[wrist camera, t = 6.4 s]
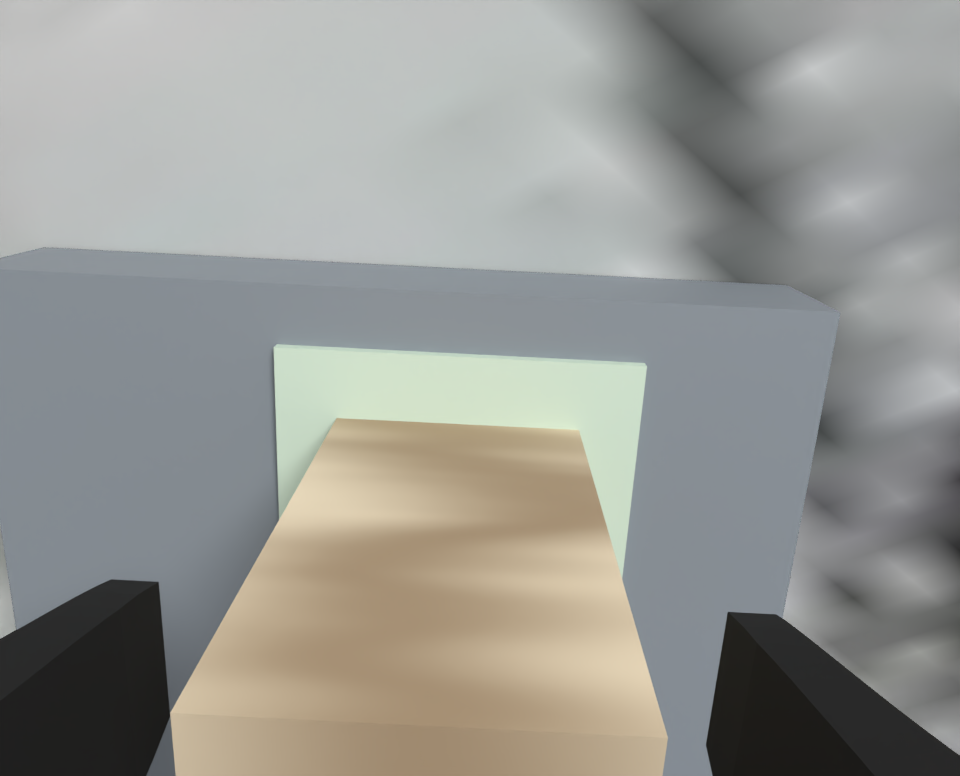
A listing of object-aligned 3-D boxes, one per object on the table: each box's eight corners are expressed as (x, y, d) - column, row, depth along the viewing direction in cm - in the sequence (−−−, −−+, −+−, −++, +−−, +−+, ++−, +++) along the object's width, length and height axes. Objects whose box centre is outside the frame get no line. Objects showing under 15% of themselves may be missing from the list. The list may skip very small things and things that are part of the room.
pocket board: (786, 285, 15) (846, 314, 12) (680, 921, 20) (707, 1034, 17) (43, 247, 15) (-48, 269, 12) (119, 892, 20) (66, 1000, 17)
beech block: (578, 429, 13) (668, 737, 6) (560, 637, 14) (618, 1080, 8) (336, 417, 13) (170, 711, 6) (338, 627, 14) (200, 1059, 8)
